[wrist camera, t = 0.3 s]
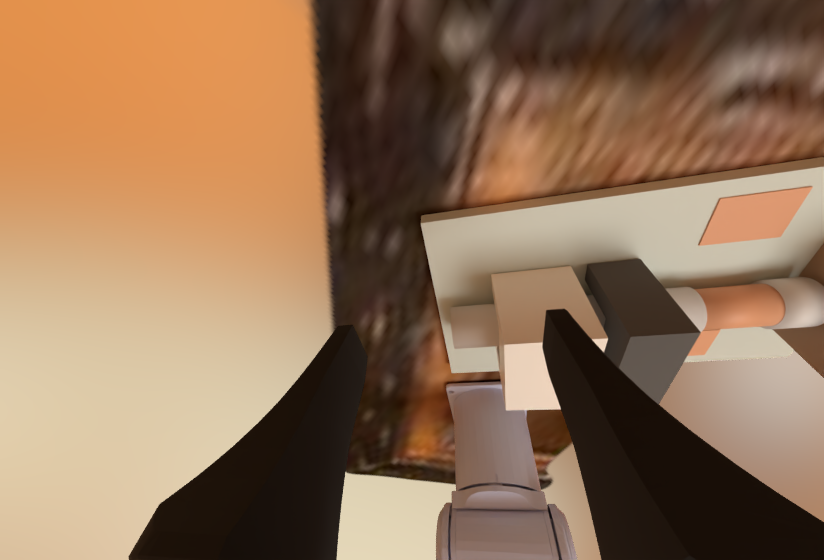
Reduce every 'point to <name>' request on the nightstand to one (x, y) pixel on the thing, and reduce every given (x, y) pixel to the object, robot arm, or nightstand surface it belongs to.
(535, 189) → the nightstand surface
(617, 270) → the dark grey block
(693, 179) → the pipe clamp
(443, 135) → the nightstand surface
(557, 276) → the sleeve
